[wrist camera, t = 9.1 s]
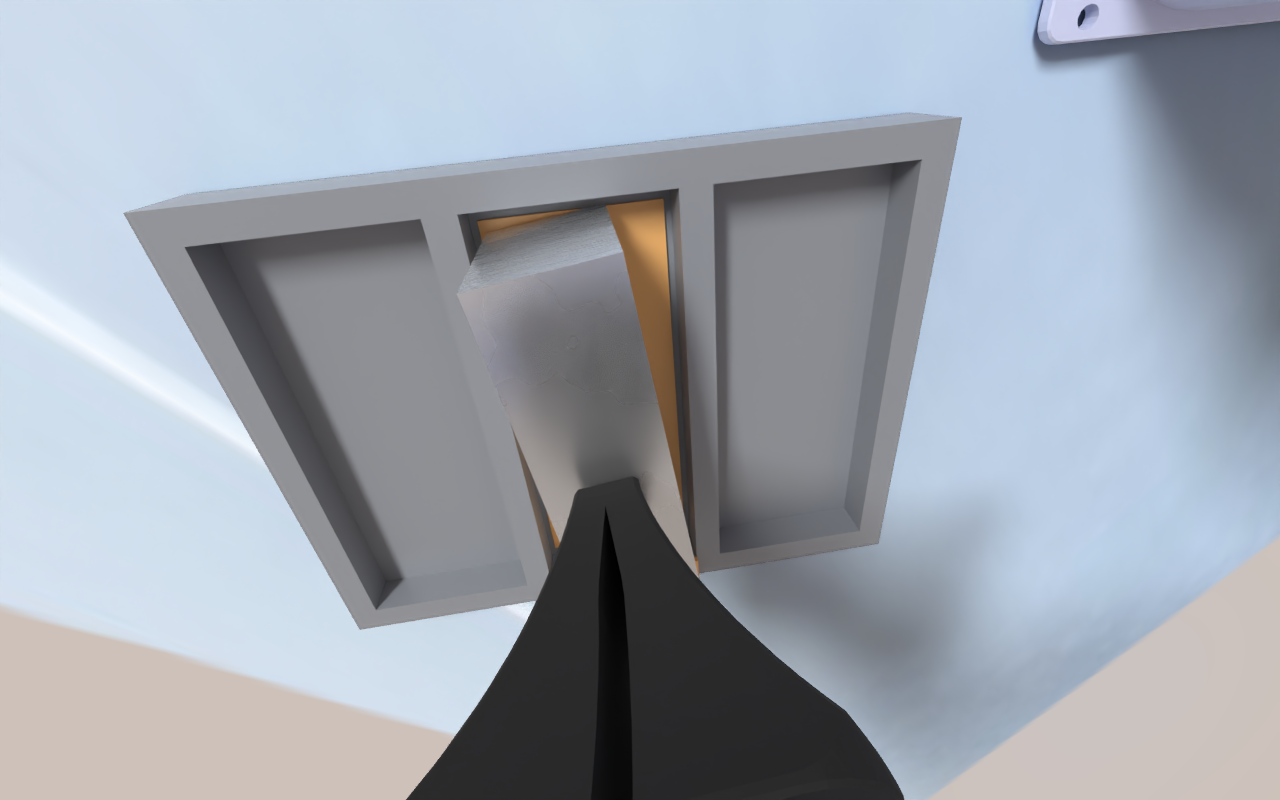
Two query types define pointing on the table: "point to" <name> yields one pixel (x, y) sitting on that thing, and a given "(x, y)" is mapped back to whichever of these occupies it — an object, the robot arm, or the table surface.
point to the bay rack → (669, 319)
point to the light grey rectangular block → (572, 362)
